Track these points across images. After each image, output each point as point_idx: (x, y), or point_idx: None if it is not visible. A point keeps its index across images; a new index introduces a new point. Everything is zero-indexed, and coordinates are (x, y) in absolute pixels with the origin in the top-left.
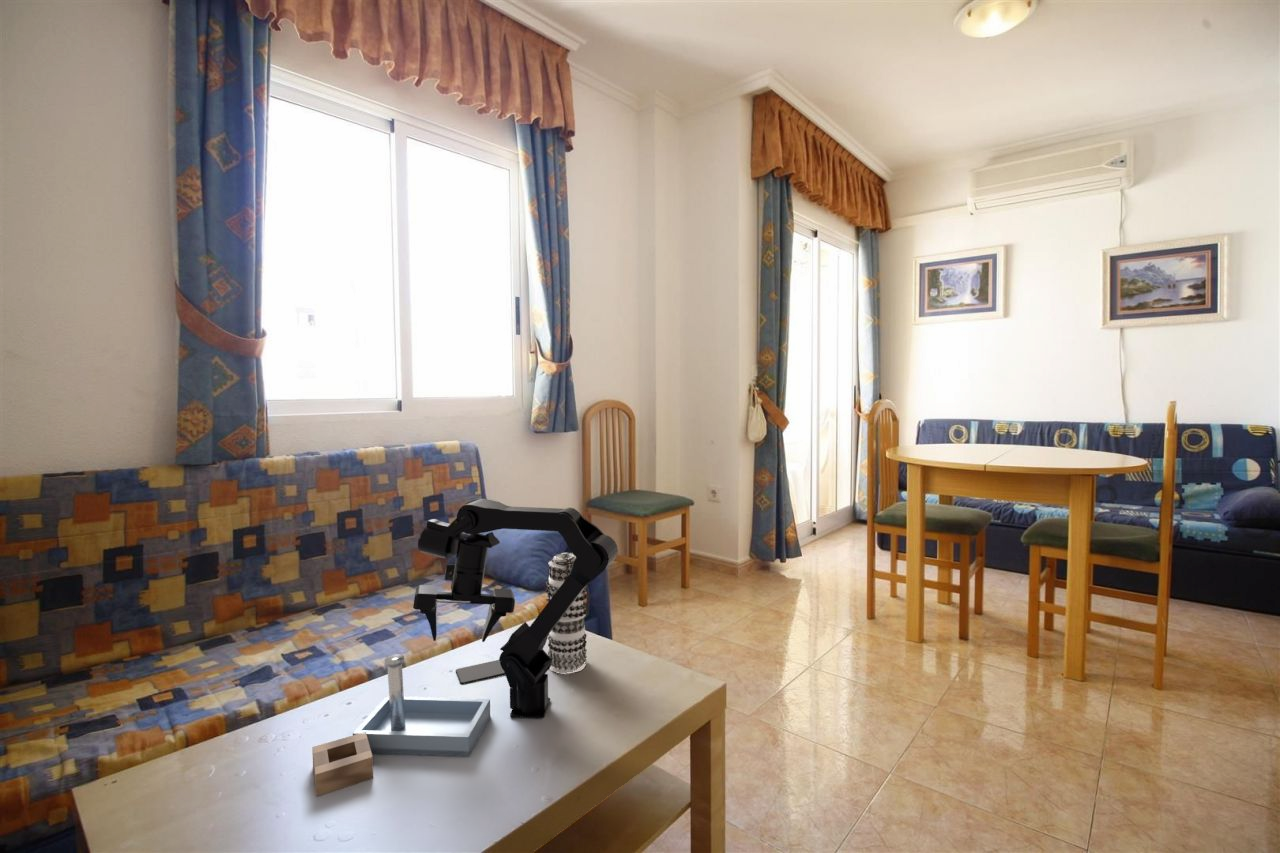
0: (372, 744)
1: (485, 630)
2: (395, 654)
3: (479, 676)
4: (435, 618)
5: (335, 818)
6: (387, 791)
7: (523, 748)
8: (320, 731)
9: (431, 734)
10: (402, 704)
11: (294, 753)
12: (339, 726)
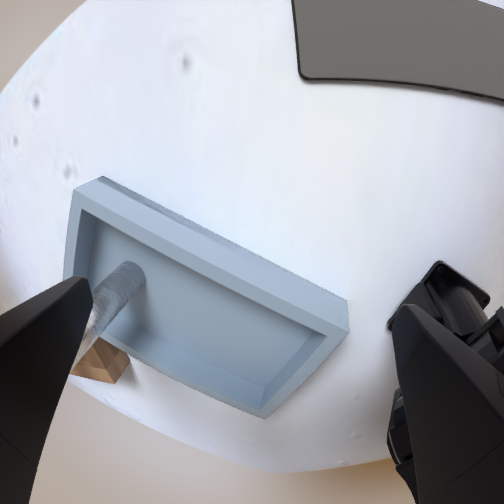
0: None
1: (408, 427)
2: None
3: (369, 64)
4: (30, 480)
5: (113, 393)
6: (156, 390)
7: (363, 403)
8: (21, 197)
9: (196, 387)
10: (112, 320)
11: (16, 247)
12: (39, 192)
